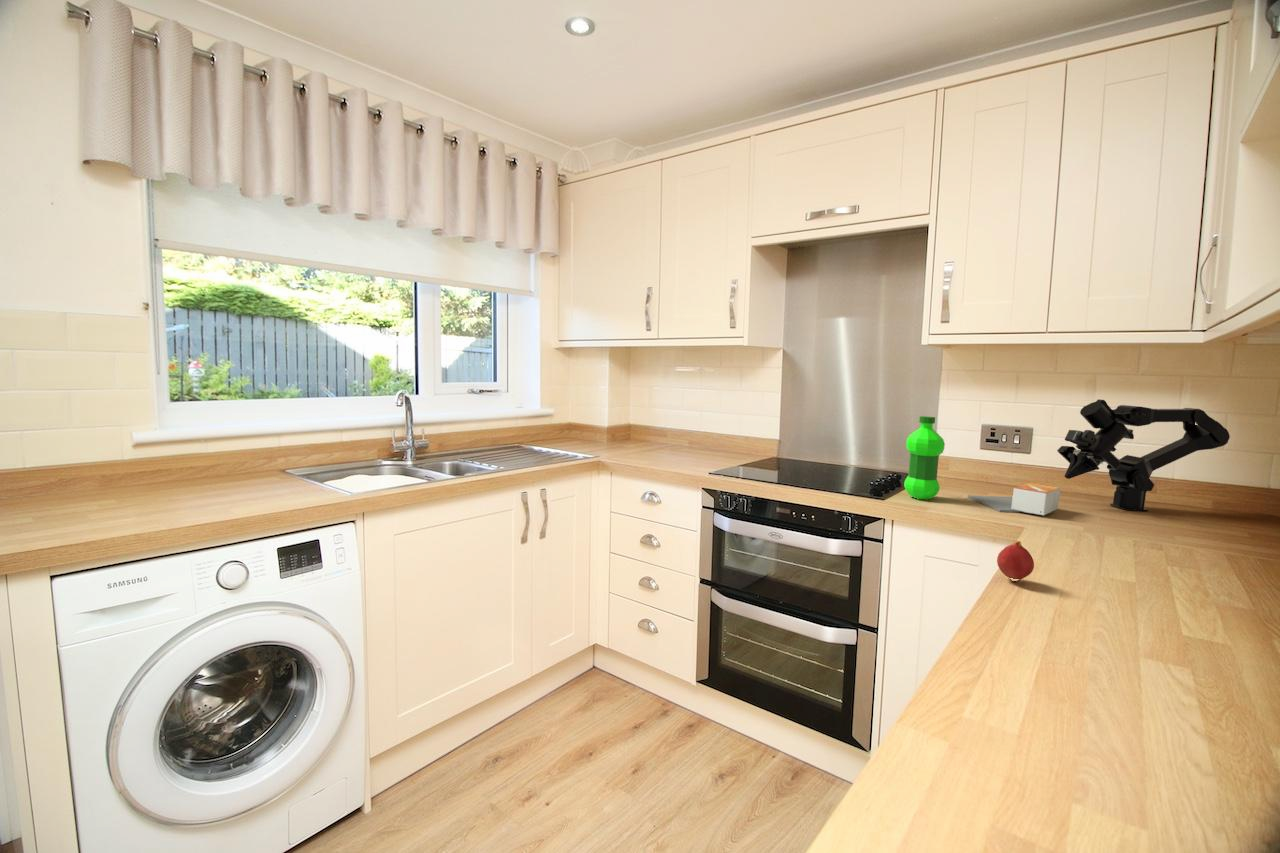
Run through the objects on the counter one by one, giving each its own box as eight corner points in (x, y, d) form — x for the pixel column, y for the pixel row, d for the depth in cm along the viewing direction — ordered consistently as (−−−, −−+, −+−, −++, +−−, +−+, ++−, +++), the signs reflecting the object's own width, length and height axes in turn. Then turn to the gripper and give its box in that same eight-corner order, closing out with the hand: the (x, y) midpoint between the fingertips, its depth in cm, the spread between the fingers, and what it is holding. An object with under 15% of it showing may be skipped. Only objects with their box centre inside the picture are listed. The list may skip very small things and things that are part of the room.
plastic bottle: (920, 493, 186) (927, 415, 183) (947, 501, 176) (954, 418, 173) (894, 494, 182) (901, 415, 180) (920, 503, 172) (927, 418, 170)
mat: (1014, 498, 181) (1014, 497, 181) (1051, 513, 164) (1051, 511, 163) (967, 497, 182) (967, 495, 182) (999, 511, 164) (999, 509, 164)
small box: (1061, 487, 166) (1047, 493, 158) (1058, 509, 167) (1044, 516, 159) (1028, 482, 172) (1013, 487, 164) (1026, 503, 173) (1010, 509, 165)
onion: (989, 575, 113) (992, 535, 112) (1019, 576, 113) (1023, 536, 112) (1006, 586, 107) (1011, 544, 107) (1038, 588, 107) (1043, 545, 106)
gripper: (1063, 419, 180) (1026, 456, 181) (1109, 421, 161) (1067, 461, 162) (1090, 444, 180) (1053, 481, 180) (1139, 449, 161) (1097, 489, 162)
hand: (1066, 477), depth 171 cm, fingers closed
